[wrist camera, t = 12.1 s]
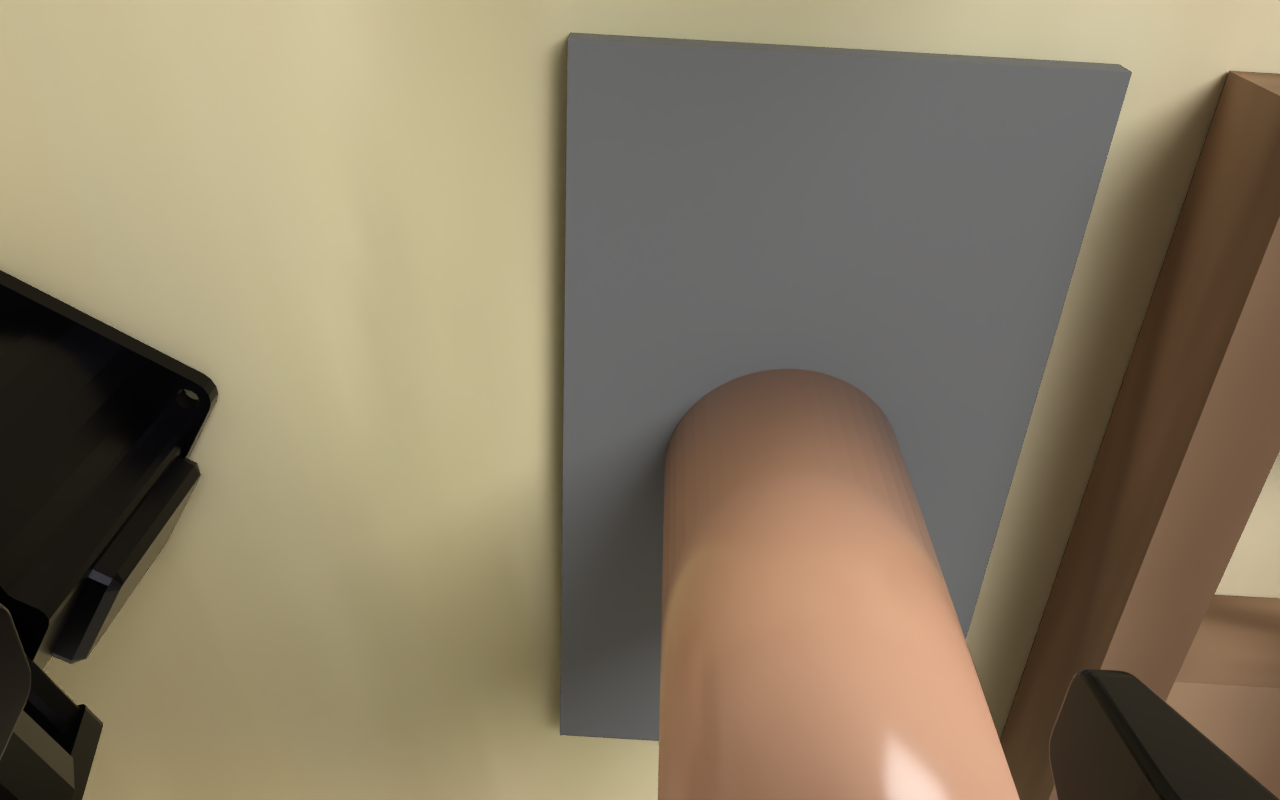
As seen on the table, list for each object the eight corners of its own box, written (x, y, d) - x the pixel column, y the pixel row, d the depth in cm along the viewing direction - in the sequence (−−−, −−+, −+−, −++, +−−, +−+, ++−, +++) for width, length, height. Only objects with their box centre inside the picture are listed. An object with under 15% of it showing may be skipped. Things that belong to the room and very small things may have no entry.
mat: (562, 717, 28) (559, 734, 27) (570, 33, 18) (567, 39, 18) (926, 739, 28) (930, 757, 27) (1118, 64, 18) (1131, 72, 18)
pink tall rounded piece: (620, 496, 23) (580, 983, 13) (755, 325, 21) (821, 771, 11) (802, 593, 24) (882, 1100, 15) (948, 444, 22) (1154, 932, 12)
